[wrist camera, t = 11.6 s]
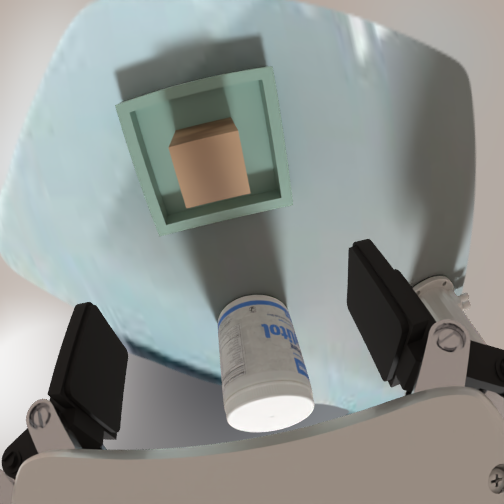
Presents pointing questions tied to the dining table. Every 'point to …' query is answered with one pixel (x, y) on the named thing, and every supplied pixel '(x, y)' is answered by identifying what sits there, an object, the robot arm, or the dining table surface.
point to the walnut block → (209, 162)
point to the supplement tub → (262, 366)
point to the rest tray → (198, 112)
